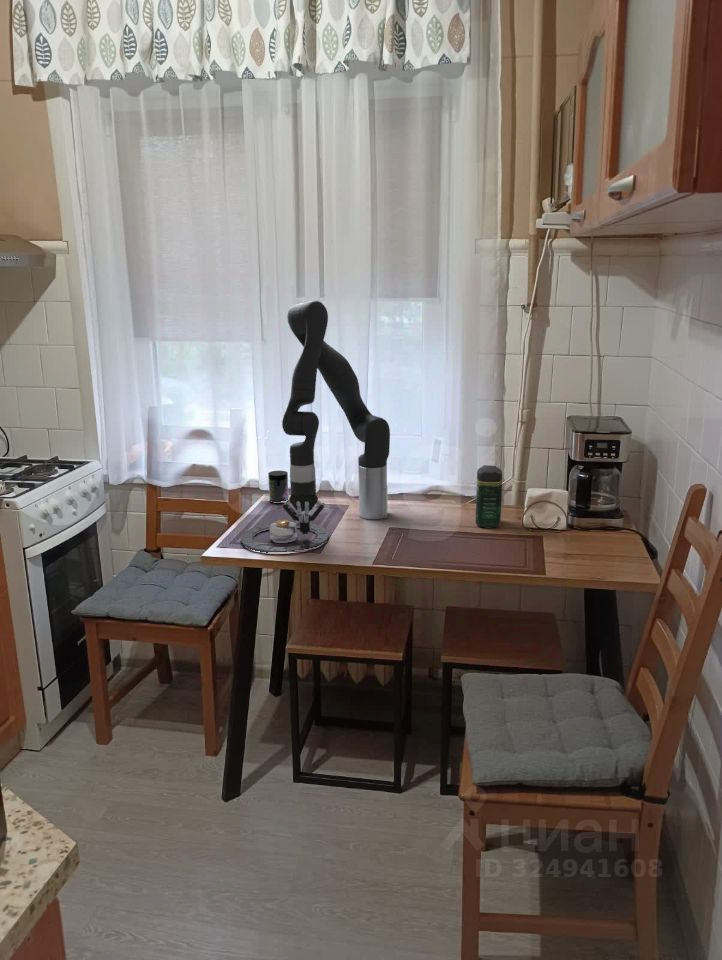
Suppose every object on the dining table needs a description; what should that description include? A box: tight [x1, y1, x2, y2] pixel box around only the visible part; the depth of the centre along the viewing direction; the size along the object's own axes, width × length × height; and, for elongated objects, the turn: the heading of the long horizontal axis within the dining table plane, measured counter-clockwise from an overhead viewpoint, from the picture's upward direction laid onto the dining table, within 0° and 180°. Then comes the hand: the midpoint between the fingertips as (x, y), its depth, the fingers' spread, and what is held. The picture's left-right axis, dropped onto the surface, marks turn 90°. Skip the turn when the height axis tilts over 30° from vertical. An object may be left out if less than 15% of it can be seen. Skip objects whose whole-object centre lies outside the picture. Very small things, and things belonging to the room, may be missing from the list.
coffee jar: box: [475, 464, 503, 529], centre depth 247 cm, size 10×8×19 cm
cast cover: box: [269, 519, 298, 541], centre depth 239 cm, size 8×8×6 cm
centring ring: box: [240, 521, 330, 553], centre depth 239 cm, size 26×26×1 cm
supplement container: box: [267, 470, 290, 502], centre depth 275 cm, size 7×7×10 cm
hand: (305, 533), depth 238 cm, fingers closed
